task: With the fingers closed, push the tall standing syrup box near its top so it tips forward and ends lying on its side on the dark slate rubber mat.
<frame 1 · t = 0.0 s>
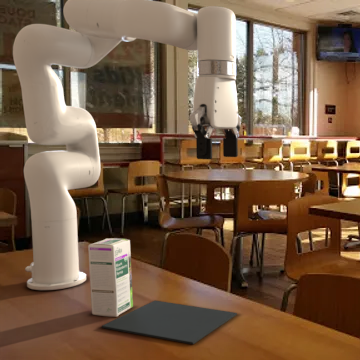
hand: (218, 157, 100), 31 cm above the table, tool pointing down, fingers open, 9 cm apart
mat: (171, 321, 95), on the table
syrup box: (112, 312, 100), on the table
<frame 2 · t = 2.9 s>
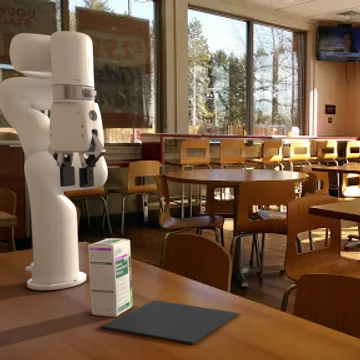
hand: (77, 185, 101), 25 cm above the table, tool pointing down, fingers open, 4 cm apart
nothing on the table moved.
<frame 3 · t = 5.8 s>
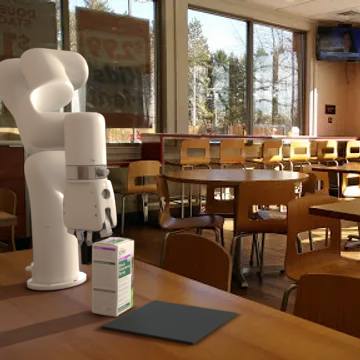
hand: (90, 263, 101), 10 cm above the table, tool pointing down, fingers closed
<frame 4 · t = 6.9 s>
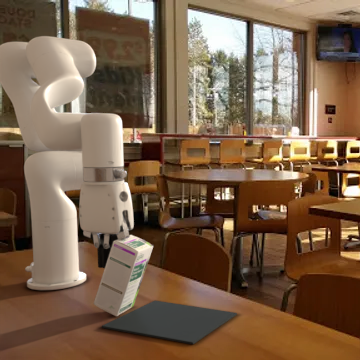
hand: (107, 266, 100), 9 cm above the table, tool pointing down, fingers closed
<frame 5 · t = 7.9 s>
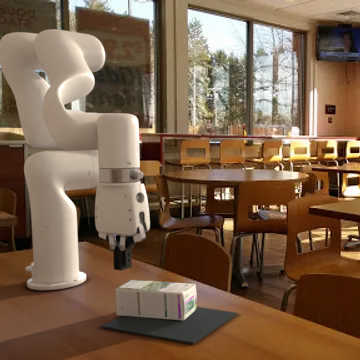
hand: (122, 268, 98), 9 cm above the table, tool pointing down, fingers closed
syrup box: (122, 296, 99), point 3 cm above the table, touching mat
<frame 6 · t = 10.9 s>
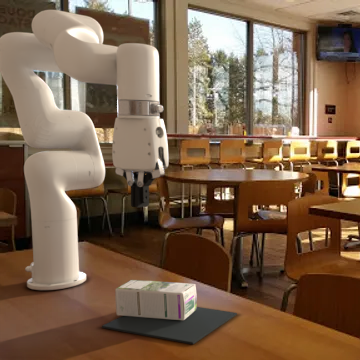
hand: (140, 206, 96), 22 cm above the table, tool pointing down, fingers closed
nothing on the table moved.
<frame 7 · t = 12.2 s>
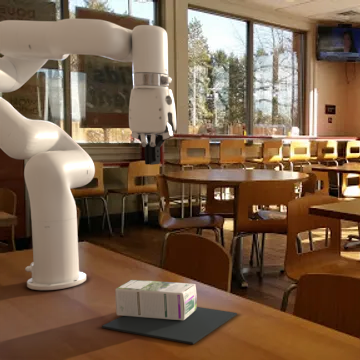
hand: (152, 164, 113), 29 cm above the table, tool pointing down, fingers closed
nothing on the table moved.
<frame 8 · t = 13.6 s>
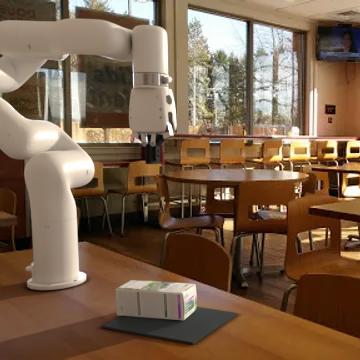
hand: (152, 163, 113), 29 cm above the table, tool pointing down, fingers closed
nothing on the table moved.
at the end: syrup box tilted 90°; syrup box touching mat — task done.
